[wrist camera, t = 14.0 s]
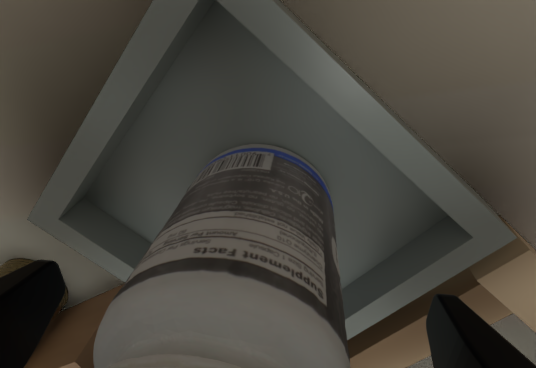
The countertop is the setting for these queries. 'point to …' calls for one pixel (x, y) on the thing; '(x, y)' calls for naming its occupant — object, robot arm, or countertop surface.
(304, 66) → the tray
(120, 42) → the countertop surface
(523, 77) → the countertop surface
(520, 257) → the socket collar
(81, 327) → the brown cardboard box
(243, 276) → the pill bottle
